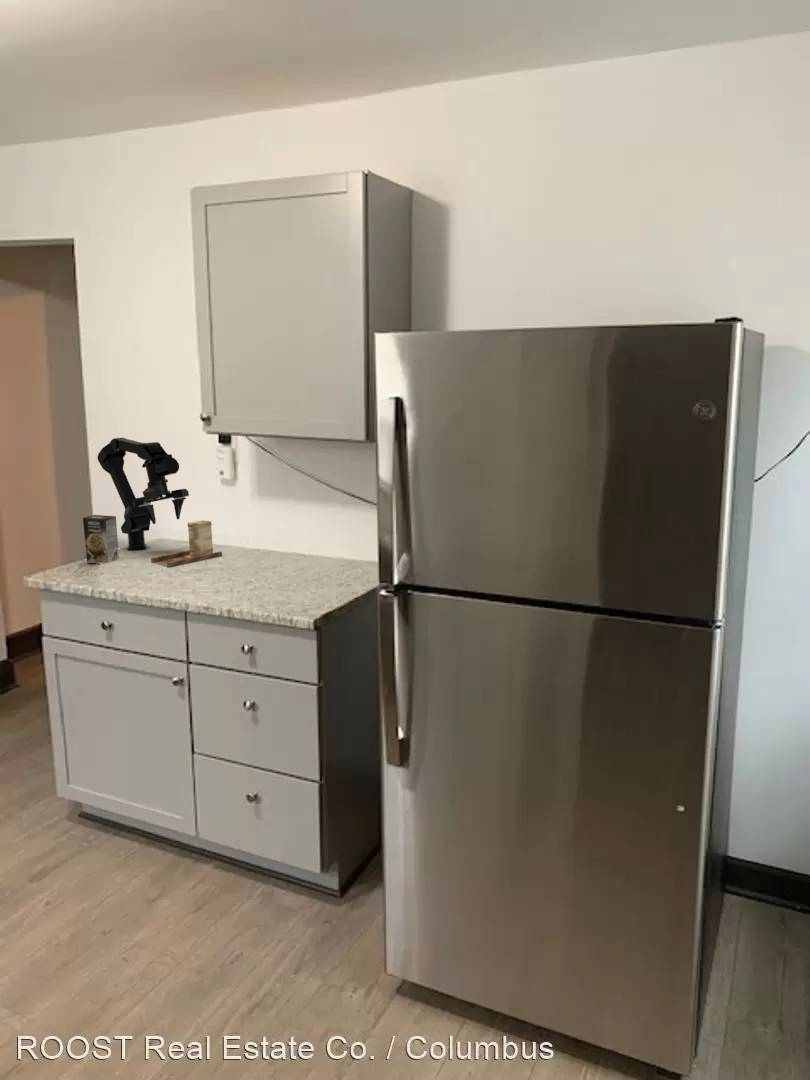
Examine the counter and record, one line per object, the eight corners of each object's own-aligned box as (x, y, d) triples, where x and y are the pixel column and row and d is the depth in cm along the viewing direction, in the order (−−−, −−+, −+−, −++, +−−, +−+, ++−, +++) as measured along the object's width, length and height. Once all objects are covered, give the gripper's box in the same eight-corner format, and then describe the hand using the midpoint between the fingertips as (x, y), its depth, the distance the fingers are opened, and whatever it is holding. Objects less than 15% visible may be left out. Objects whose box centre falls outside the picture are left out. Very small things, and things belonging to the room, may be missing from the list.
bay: (169, 570, 276) (168, 563, 276) (151, 565, 284) (150, 558, 283) (222, 558, 291) (222, 551, 291) (204, 554, 299) (203, 547, 298)
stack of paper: (189, 556, 290) (187, 522, 288) (202, 553, 295) (199, 519, 292) (201, 558, 287) (199, 524, 284) (213, 555, 292) (211, 521, 289)
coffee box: (86, 563, 287) (81, 517, 283) (98, 559, 293) (93, 514, 289) (108, 565, 284) (104, 518, 281) (120, 561, 290) (116, 515, 287)
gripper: (121, 484, 288) (131, 528, 290) (170, 473, 285) (180, 518, 286) (137, 482, 299) (146, 525, 301) (184, 472, 296) (194, 516, 297)
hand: (166, 521), depth 296 cm, fingers open, 9 cm apart
